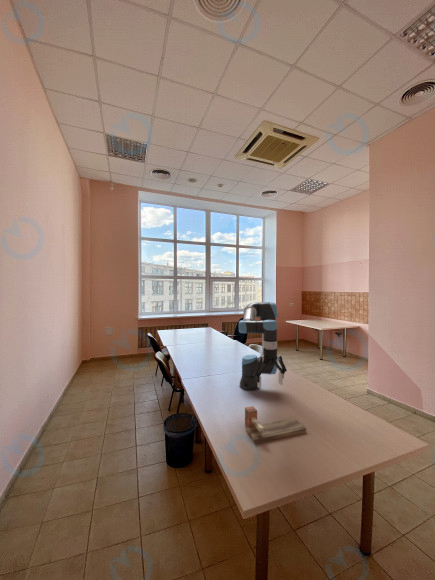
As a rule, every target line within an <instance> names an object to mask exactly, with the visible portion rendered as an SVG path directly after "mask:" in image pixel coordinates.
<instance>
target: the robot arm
mask: <svg viewBox="0 0 435 580" xmlns="http://www.w3.org/2000/svg"><path fill="white" fill-rule="evenodd" d="M278 315H279V314H278V308H277V304H276V303H275V302H270V301H265V302H263V301H262V302H261V301H259V302H256V301H254V302H251V303H249V304H248V305H245V307H244V309H243V319H242V320H239V321H238V332H239V333H240V334H260V335H261V353H260V355H259V357H258V356H257V354H247V355H244V356H243V357H242V358H241V378H240V380H239V387H240V388H241V389H242V390H245V391H256V390H258V389H262V376H261V375H269V376H270V375H276V374H277V371H278V384H279V385H280V386H283V382H284V381H283V380H284V375H285V373H286V372H287V371H288V369H287V368H286V365H285V363H284V360H283V356H282V355H280V354H278V322H277V320H276V319H278V317H279V316H278ZM256 318H259V320H256Z"/></svg>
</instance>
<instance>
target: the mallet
mask: <svg viewBox="0 0 435 580" xmlns="http://www.w3.org/2000/svg"><path fill="white" fill-rule="evenodd" d="M244 426H245V427H246V428H247V427H252V426H256V428H257V429H258V430H259V432H260V436H262V432H264V427H263V426H262V424H261V422H260V421H259V419H258V410H257V408H255V406H254V405H252V406H247V407H244Z"/></svg>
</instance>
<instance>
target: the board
mask: <svg viewBox="0 0 435 580" xmlns="http://www.w3.org/2000/svg"><path fill="white" fill-rule="evenodd" d="M261 425H262V426H263V427H264V432H262V436H260V432H259V430H258V429H257V428H256V426H252V427H246V431H245V432H246V433H247V435H248V436H249V437H250V439H251V441H252V442H253V443H254V444H260V443H264V442H268V441H273V440H277V439H281V438H287V437H290V436H294V435H295V436H296V435H299V434H303V433H307V427H306V426H304V425H303V424H302V423H301V422H300V421H299V420H298V419H297V418H296V417H293V418H288V419H284V420H277V421H274V422H268V423H263V424H261Z"/></svg>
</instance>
